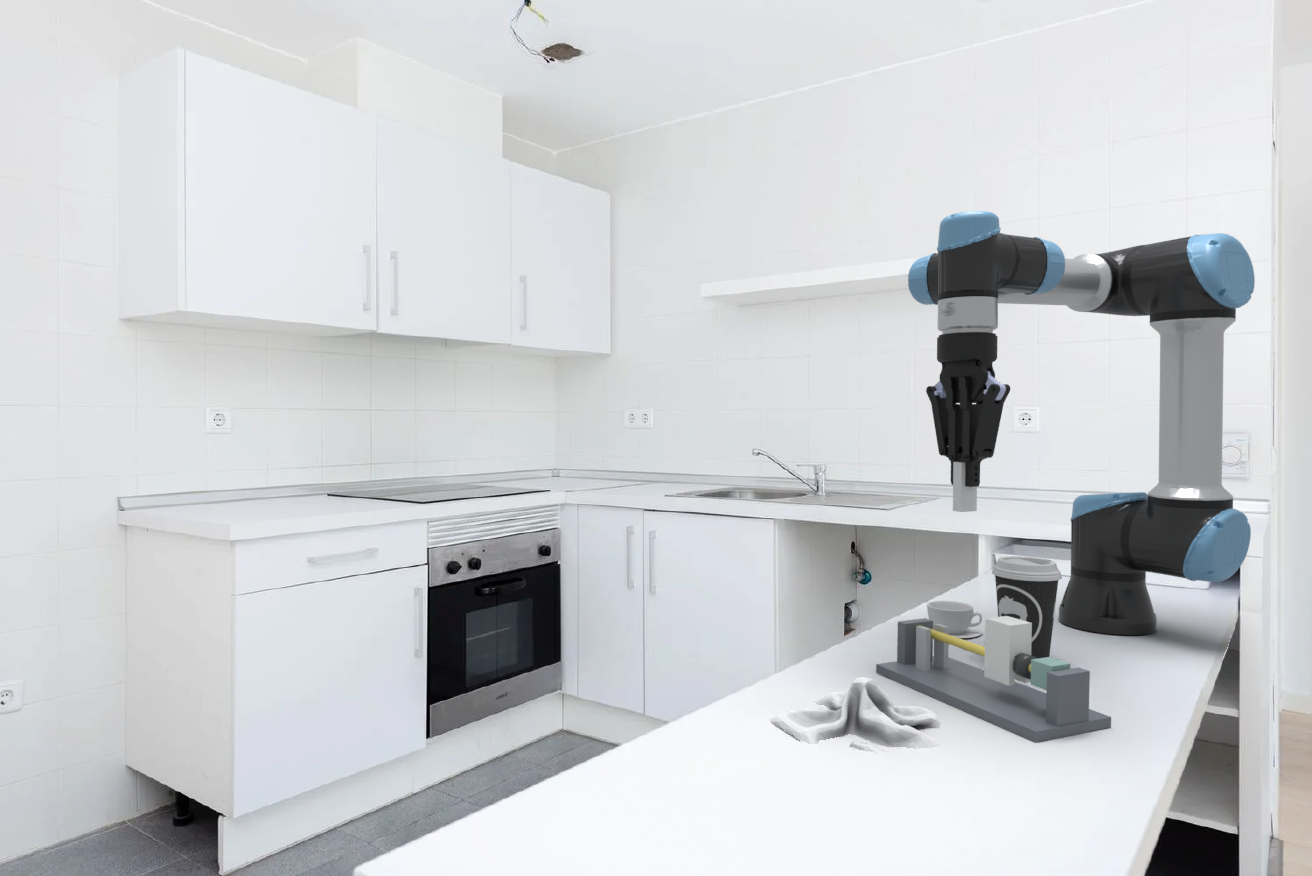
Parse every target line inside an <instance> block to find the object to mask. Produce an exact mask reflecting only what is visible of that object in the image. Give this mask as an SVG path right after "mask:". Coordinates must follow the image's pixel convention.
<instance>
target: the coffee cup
mask: <svg viewBox="0 0 1312 876" xmlns="http://www.w3.org/2000/svg"><path fill="white" fill-rule="evenodd" d="M991 574H992V575H994V578H995V579H994V580H995V590H996V603H997V604H996V605H997V617H1001V616H1009V617H1013V618H1016V619H1020V620H1023V621H1027V622H1030V623H1032V641H1031V656H1035V657H1037V658H1038V659H1039V658H1045V657H1051V655H1050V653H1051V645H1052V639H1053V638H1052V636H1053V629H1054V627H1053V626H1054V621H1055V611H1056V603H1057V593H1058V587H1059V580H1062V578H1063V576H1062V572H1061V571H1060V569H1059V568H1058V565H1057V562H1055V561H1054V560H1051V559H1046V558H1040V557H1033V556H1032V557H1031V556H1017V555H1016V556H1002V557H999V558H998V559H997V562H996V564H995V565H994V566H993V567H992V570H991Z"/></svg>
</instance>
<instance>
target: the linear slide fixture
mask: <svg viewBox="0 0 1312 876" xmlns="http://www.w3.org/2000/svg"><path fill="white" fill-rule="evenodd" d="M896 639H897V640H896V641H897V645H896V646H897V647H896V648H897V649H896V653H897V654H896V661H891V662H882V663H877V664H876V665H875V667H876V668H875V669H876V670H875V673H876V674H879V675H881V676H883V677H885V678H888V679H889V680H892V681H894V682H897V683H899V684H902V685H904V686H906V687H908V688H910V689H913V690H915V691H918V692H919V693H922V694H924V695H926V696H928V697H932V698H933V699H936V700H938V701H940V702H942V703H945V704H947V705H950V706H951V707H954V708H956V709H958V710H961V711H963V712H965V713H968V714H970V715H973V716H975V717H977V718H979V719H982V720H984V721H986V722H988V723H991V724H993V725H995V726H998V727H1000V728H1002V729H1005V730H1006V731H1009V732H1010V733H1014V734H1016V735H1018V736H1020V737H1022V738H1024V739H1027V740H1029V741H1032V742H1034V743H1038V742H1039V743H1040V742H1044V741H1049V740H1054V739H1058V738H1059V739H1060V738H1064V737H1065V738H1066V737H1069V736H1074V735H1080V734H1084V733H1089V732H1094V731H1098V730H1099V731H1100V730H1103V729H1108V728H1112V716H1109V715H1107V714H1104V713H1102V712H1098V711H1096V710H1093V709H1090V682H1091V681H1090V679H1091V675H1090V670H1088V669H1084V668H1081V667H1071V663H1069V662H1067V661H1063V660H1061V659H1058V658H1054V657H1051V656H1049V657H1045V658H1039V659H1038V658H1037V657H1035V656H1031V655H1028V654H1025V653H1020V654H1018V655H1017V656H1016V657H1015V660H1014V662H1013V669H1014V672H1015V673H1016V674H1017V675H1019V676H1022V677H1024V678H1027V679H1031V682H1030V685H1031V686H1034V687H1036V688H1039V689H1042V690H1044V691H1041V690H1038V689H1036V688H1033V687H1030V686H1028V685H1025V684H1022V683H1020V682H1017V681H1016V680H1014V685H1011V686H1008V685H1005V684H1003V683H1000V682H997V681H995V680H992V679H989V678H987V677H984V669H981V668H980V667H979V668H978V667H976V666H974V665H971V664H968V663H966V662H962V661H960V660H957V659H954V658H952V657H949V645H951V646H953V647H956V648H959V649H962V650H965V651H967V652H970V653H974V654H976V655H979V656H982V657H984V658H985V645H984V646H983V645H980V644H977V643H974V642H971V641H969V640H966V639H964V638H957V637H954V636H951V635H949V627H947V626H944V625H941V624H934V630H933V621H932V620H929V618H917V619H916V618H915V619H907V620H898V621H897V638H896ZM1045 691H1046V692H1045Z"/></svg>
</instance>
